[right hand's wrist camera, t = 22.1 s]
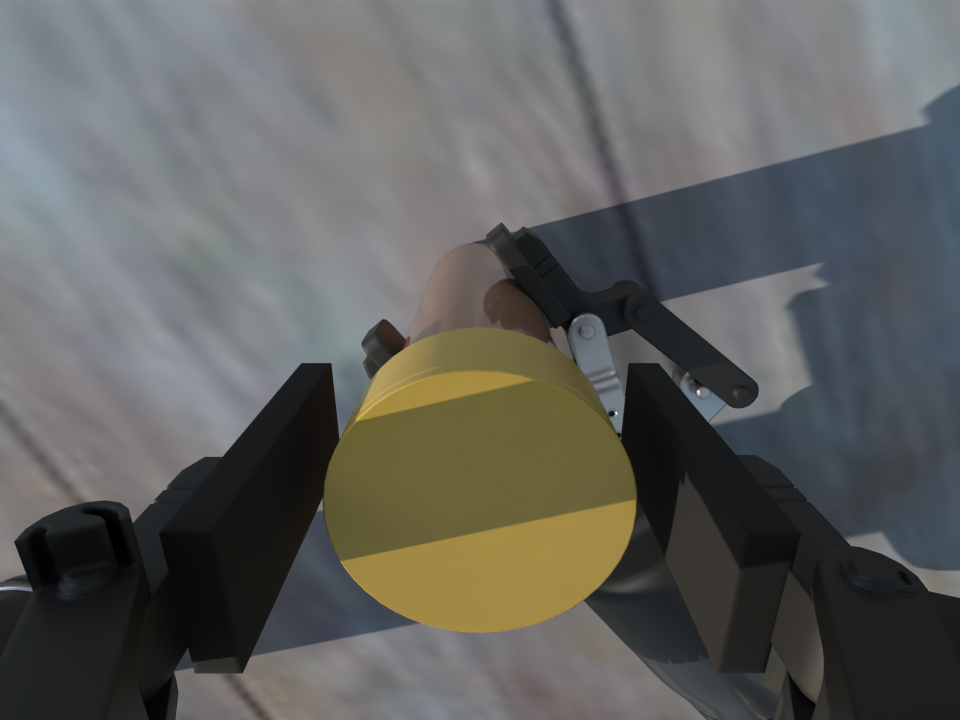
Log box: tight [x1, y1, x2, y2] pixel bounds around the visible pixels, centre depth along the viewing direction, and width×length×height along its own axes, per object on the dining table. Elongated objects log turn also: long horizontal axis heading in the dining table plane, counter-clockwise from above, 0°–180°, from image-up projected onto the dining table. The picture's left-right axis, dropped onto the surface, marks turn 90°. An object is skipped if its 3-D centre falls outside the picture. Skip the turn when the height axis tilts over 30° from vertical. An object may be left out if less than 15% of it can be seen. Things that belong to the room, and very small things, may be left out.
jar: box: [402, 243, 558, 350], centre depth 18 cm, size 5×5×16 cm
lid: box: [323, 327, 637, 633], centre depth 11 cm, size 6×6×2 cm
